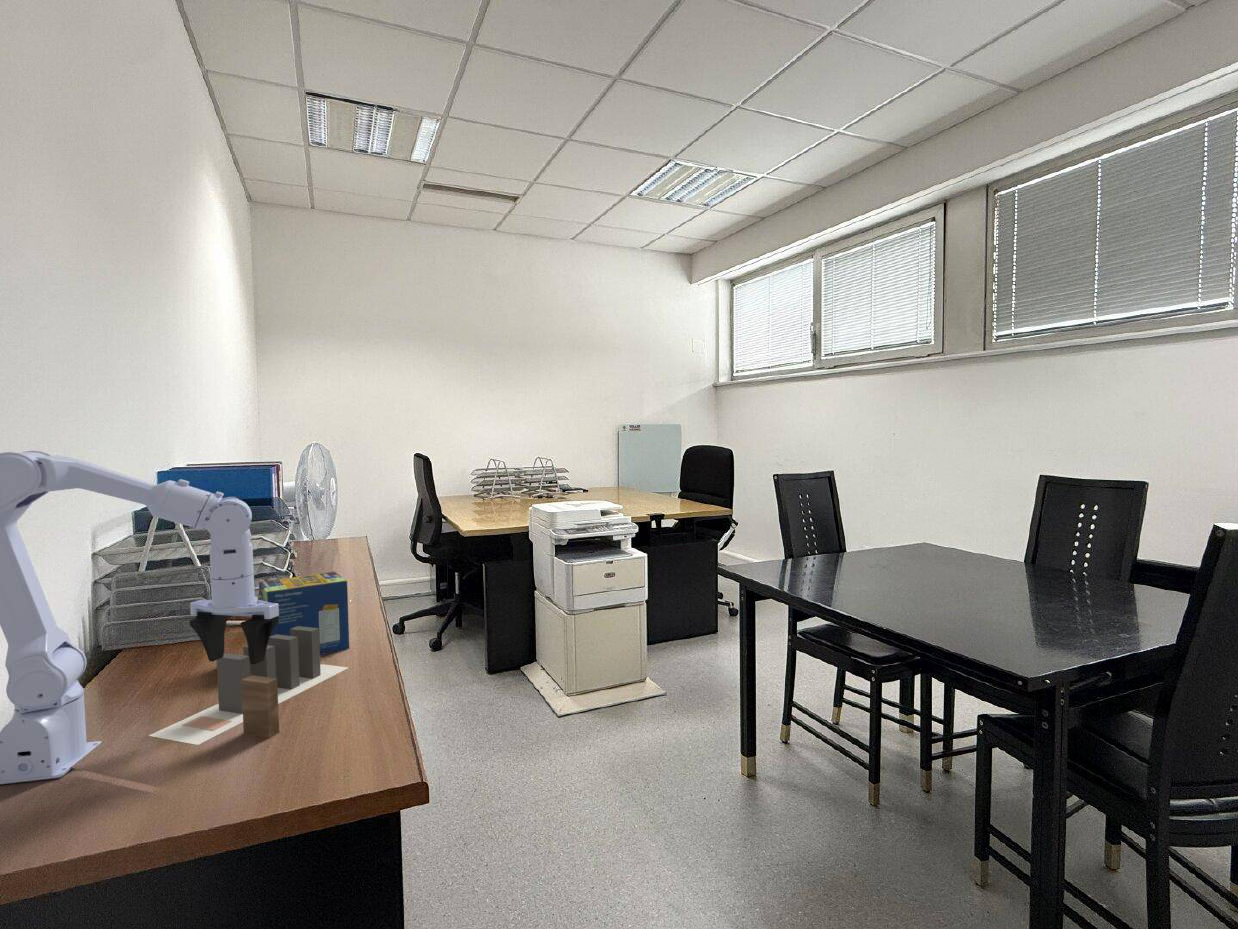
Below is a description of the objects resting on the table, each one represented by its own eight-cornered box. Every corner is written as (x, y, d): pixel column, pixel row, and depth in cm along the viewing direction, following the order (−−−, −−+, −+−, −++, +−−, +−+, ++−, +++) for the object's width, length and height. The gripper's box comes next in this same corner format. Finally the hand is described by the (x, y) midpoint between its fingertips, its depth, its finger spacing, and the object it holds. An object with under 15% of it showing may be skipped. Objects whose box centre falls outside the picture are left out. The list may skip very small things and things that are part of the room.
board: (198, 749, 91) (197, 744, 91) (148, 739, 94) (148, 735, 94) (349, 670, 120) (348, 667, 120) (307, 665, 123) (307, 662, 123)
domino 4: (291, 689, 110) (289, 640, 110) (269, 686, 112) (267, 637, 111) (299, 685, 112) (297, 636, 111) (277, 682, 113) (275, 634, 113)
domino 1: (242, 714, 101) (239, 660, 100) (218, 710, 102) (216, 657, 102) (251, 709, 102) (249, 656, 102) (228, 705, 104) (226, 653, 103)
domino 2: (268, 701, 105) (265, 649, 105) (245, 697, 107) (243, 646, 106) (276, 697, 107) (274, 646, 107) (254, 693, 109) (252, 643, 108)
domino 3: (269, 742, 93) (267, 683, 92) (243, 737, 94) (241, 679, 94) (279, 736, 94) (277, 678, 94) (254, 732, 96) (251, 675, 95)
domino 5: (313, 678, 115) (311, 631, 114) (291, 676, 116) (290, 629, 116) (320, 675, 117) (318, 628, 116) (299, 672, 118) (297, 626, 118)
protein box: (260, 654, 130) (257, 581, 129) (338, 639, 139) (336, 571, 139) (268, 669, 122) (265, 591, 121) (350, 651, 131) (348, 579, 130)
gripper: (291, 571, 99) (294, 654, 100) (214, 568, 102) (218, 649, 103) (257, 581, 92) (261, 670, 93) (176, 578, 95) (181, 665, 96)
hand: (236, 660), depth 97 cm, fingers open, 7 cm apart
